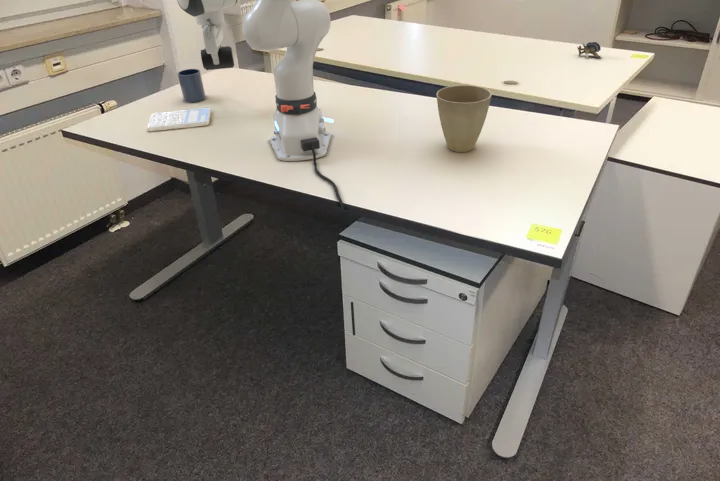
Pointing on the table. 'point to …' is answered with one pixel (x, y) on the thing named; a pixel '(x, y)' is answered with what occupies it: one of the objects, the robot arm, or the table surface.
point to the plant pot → (462, 114)
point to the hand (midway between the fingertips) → (218, 60)
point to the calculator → (179, 119)
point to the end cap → (224, 59)
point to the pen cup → (191, 85)
